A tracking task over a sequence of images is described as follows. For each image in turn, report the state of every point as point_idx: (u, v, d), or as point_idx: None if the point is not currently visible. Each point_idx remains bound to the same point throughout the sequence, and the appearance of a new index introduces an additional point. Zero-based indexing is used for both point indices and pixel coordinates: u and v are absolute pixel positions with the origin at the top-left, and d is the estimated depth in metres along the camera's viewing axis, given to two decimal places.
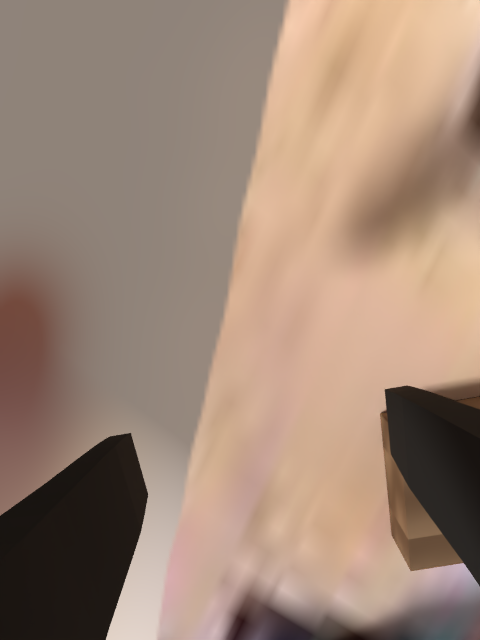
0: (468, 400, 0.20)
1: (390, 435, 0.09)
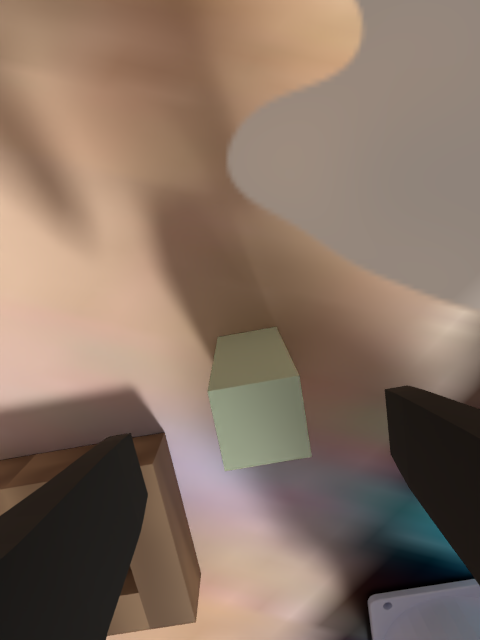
0: None
1: (390, 435, 0.09)
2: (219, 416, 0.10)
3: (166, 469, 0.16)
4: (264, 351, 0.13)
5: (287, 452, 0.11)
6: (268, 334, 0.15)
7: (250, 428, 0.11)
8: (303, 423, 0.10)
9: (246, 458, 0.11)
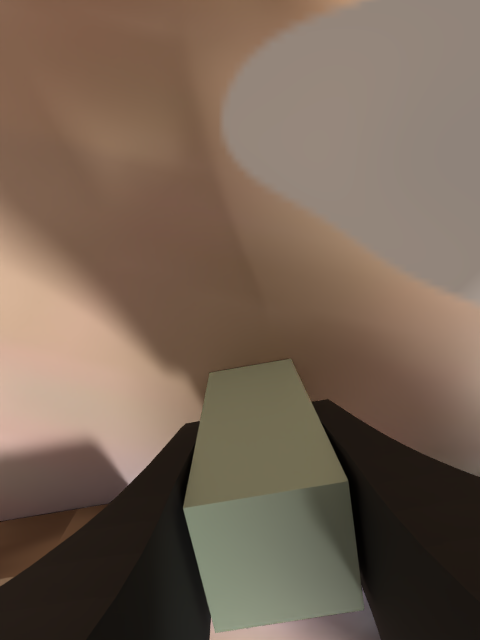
0: None
1: None
2: (205, 549, 0.06)
3: None
4: (278, 409, 0.08)
5: (321, 602, 0.06)
6: (281, 372, 0.10)
7: (260, 566, 0.06)
8: (352, 559, 0.06)
9: (252, 613, 0.06)
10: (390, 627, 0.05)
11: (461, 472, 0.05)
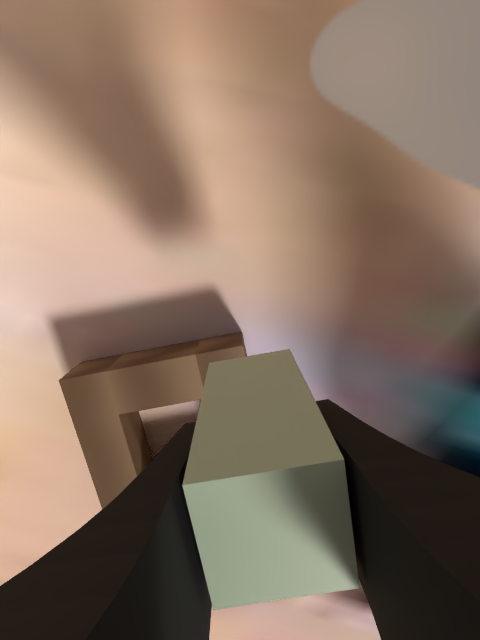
0: None
1: None
2: (203, 525, 0.06)
3: None
4: (276, 396, 0.08)
5: (318, 580, 0.06)
6: (280, 362, 0.11)
7: (257, 544, 0.06)
8: (348, 537, 0.06)
9: (249, 590, 0.06)
10: (390, 627, 0.05)
11: (461, 472, 0.05)
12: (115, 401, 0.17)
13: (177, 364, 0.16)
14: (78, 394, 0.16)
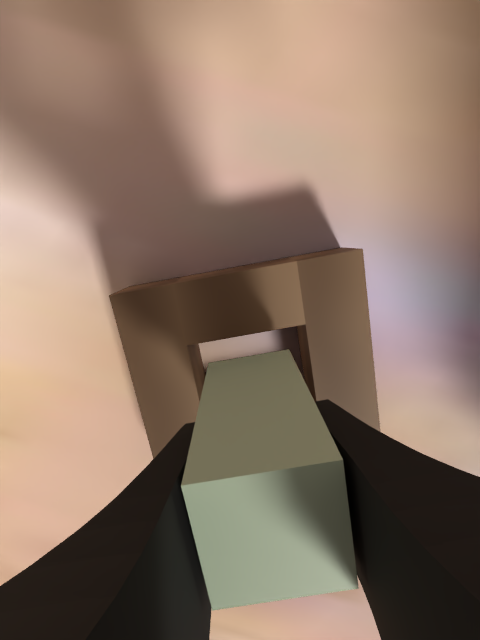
0: None
1: None
2: (202, 526, 0.06)
3: None
4: (275, 396, 0.08)
5: (317, 581, 0.06)
6: (279, 362, 0.11)
7: (256, 544, 0.06)
8: (347, 537, 0.06)
9: (248, 591, 0.06)
10: (390, 627, 0.05)
11: (461, 472, 0.05)
12: (183, 327, 0.12)
13: (271, 274, 0.12)
14: (134, 316, 0.12)
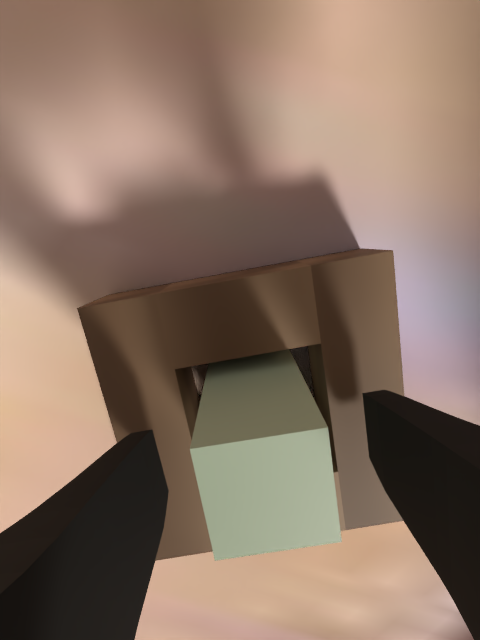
0: None
1: (368, 439, 0.09)
2: (207, 485, 0.07)
3: None
4: (271, 379, 0.09)
5: (305, 534, 0.07)
6: (276, 351, 0.12)
7: (253, 502, 0.07)
8: (331, 495, 0.07)
9: (246, 543, 0.07)
10: None
11: None
12: (170, 347, 0.10)
13: (279, 282, 0.10)
14: (109, 333, 0.10)
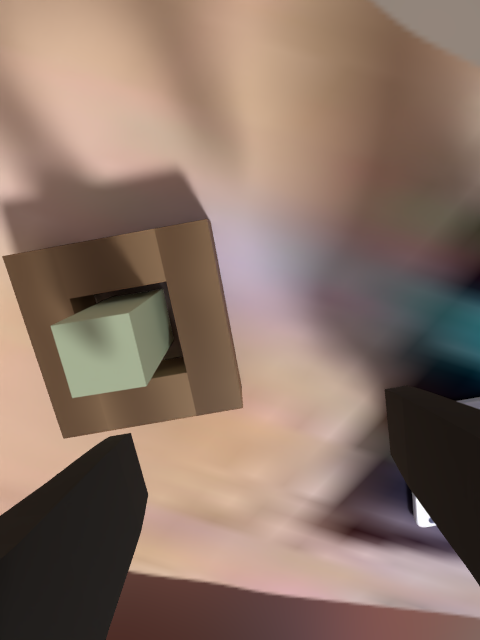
0: None
1: (390, 435, 0.09)
2: (63, 348, 0.12)
3: (214, 250, 0.16)
4: (128, 302, 0.15)
5: (124, 381, 0.12)
6: (149, 293, 0.17)
7: (91, 359, 0.12)
8: (136, 355, 0.12)
9: (89, 386, 0.12)
10: None
11: None
12: (66, 284, 0.15)
13: (135, 239, 0.15)
14: (24, 273, 0.15)
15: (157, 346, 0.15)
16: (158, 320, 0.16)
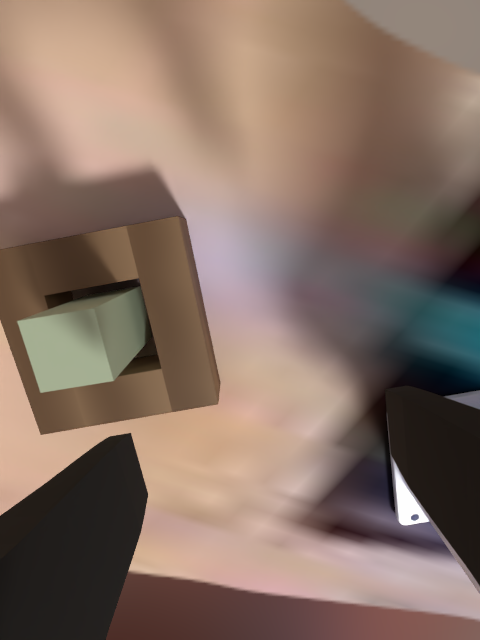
0: None
1: (390, 435, 0.09)
2: (30, 344, 0.12)
3: (189, 247, 0.16)
4: (100, 299, 0.15)
5: (91, 376, 0.13)
6: (125, 290, 0.17)
7: (58, 354, 0.12)
8: (102, 350, 0.12)
9: (57, 381, 0.13)
10: None
11: None
12: (41, 281, 0.15)
13: (107, 236, 0.15)
14: None
15: (130, 343, 0.15)
16: (132, 317, 0.16)
